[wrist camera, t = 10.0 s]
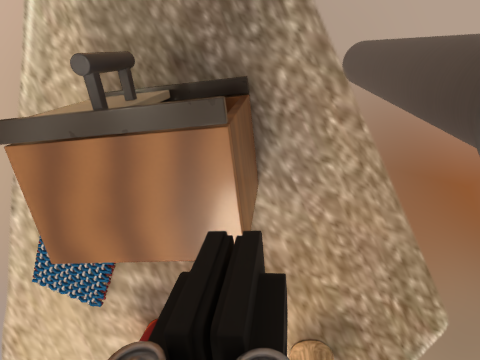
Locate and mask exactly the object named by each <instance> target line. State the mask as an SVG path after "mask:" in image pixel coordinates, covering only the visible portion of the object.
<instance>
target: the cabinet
mask: <svg viewBox="0 0 480 360" xmlns="http://www.w3.org/2000/svg"><path fill="white" fill-rule="evenodd" d="M164 90H169V93H170V98H168V99H166V100H164V101H162V102H164V103H154V104H145V105H135V106H126V107H116V108H107V109H97V110H88V111H79V112H69V113H60V114H50V115H41V116H31V117H22V118H13V119H4V120H0V145H2V144H10V145H7V146H5V147H4V148H5V151H6V153H7V155H8V158H9V160H10V163H11V165H12V168H13V170H14V173H15V175H16V178H17V180H18V182H19V185H20V187H21V190H22V192H23V195H24V197H25V200H26V202H27V204H28V207H29V209H30V212H31V214H32V217H33V219H34V221H35V224H36V226H37V229H38V231H39V234H40V236H41V239H42V241H43V243H44V246H45V248H46V251H47V253H48V256H49V258H50V261H51V263H52V264H74V263H115V262H157V261H195V260H196V258H197V255H198V253H199V251H200V249H201V246H202V244H203V242H204V240H205V237H206V235H207V233H208V231H226V232H227V235H232V236H233V239H234V244H235V240H236V237H237V235H242V234H243V231H251V225H252V219H253V213H254V207H255V201H256V195H257V189H258V174H257V165H256V155H255V146H254V136H253V126H252V117H251V107H250V98H249V95H240V96H231V97H224V96H225V95H234V94H244V93H249V88H248V78H247V76H244V77H236V78H227V79H218V80H209V81H201V82H192V83H183V84H174V85H166V86H157V87H148V88H139V89H135V91H136V94H137V93H146V92H155V91H164ZM119 95H124V94H123V90H122V91H113V92H105V97H110V96H119ZM215 96H220V97H215ZM206 97H211V98H206ZM196 98H201V99H196ZM187 99H192V100H187ZM178 100H182V101H178ZM168 101H173V102H168Z"/></svg>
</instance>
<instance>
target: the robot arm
mask: <svg viewBox="0 0 480 360" xmlns="http://www.w3.org/2000/svg"><path fill="white" fill-rule="evenodd" d="M108 360H289V358H288V357H287V286H286V274H275V273H265V267H264V254H263V242H262V233H261V231H243V234H242V235H237V237H236V240H235V244H234V239H233V236H232V235H227V232H226V231H208V233H207V235H206V237H205V240H204V242H203V244H202V246H201V249H200V251H199V253H198V255H197V258H196V260H195V262H194V264H193V267H192V269H191V271H190V272H182V273H181V274H180V275H179V277H178V279H177V281H176V283H175V285H174V287H173V289H172V291H171V293H170V296H169V298H168V300H167V302H166V304H165V306H164V308H163V310H162V312H161V314H160V316H159V318H158V320H157V322H156V324H155V326H154V328H153V330H152V332H151V335H150V337H149V339H148V341H139V342H134V343H131V344H129V345H126V346H124V347H122V348H121V349H119V350H118V351H117V352H115V353H114V354H113V355H112V356H111V357H110V358H109V359H108Z"/></svg>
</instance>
